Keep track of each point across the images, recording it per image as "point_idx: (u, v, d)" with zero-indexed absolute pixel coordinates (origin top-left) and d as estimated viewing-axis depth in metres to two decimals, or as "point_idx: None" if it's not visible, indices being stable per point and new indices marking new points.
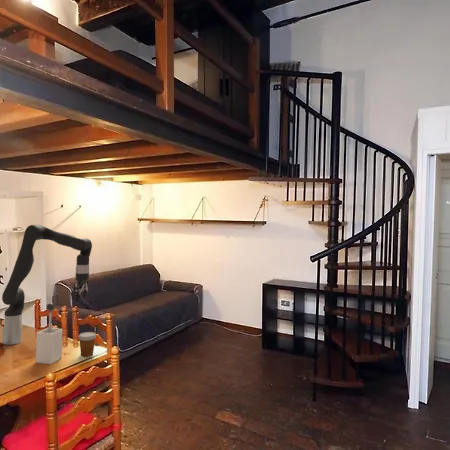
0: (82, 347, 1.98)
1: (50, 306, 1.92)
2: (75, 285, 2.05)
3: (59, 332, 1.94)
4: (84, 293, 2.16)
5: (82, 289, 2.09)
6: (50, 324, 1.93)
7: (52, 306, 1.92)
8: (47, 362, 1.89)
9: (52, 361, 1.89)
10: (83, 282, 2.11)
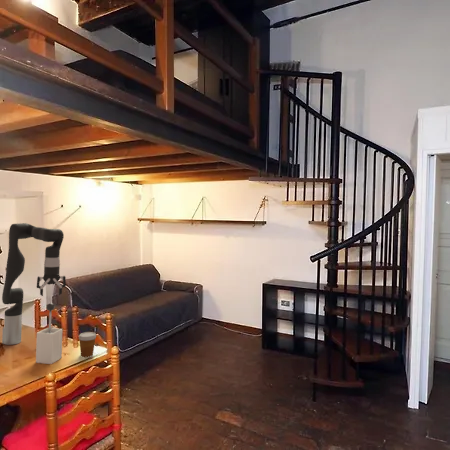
0: (82, 347, 1.98)
1: (50, 306, 1.92)
2: None
3: (59, 332, 1.94)
4: None
5: None
6: (50, 324, 1.93)
7: (52, 306, 1.92)
8: (47, 362, 1.89)
9: (52, 361, 1.89)
10: None
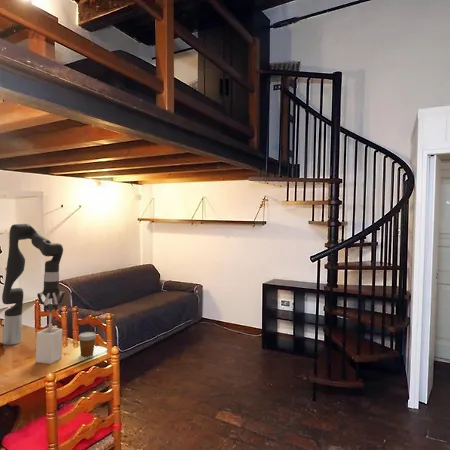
0: (82, 347, 1.98)
1: (50, 306, 1.92)
2: None
3: (59, 332, 1.94)
4: (46, 306, 1.92)
5: None
6: (50, 324, 1.93)
7: (52, 306, 1.92)
8: (47, 362, 1.89)
9: (52, 361, 1.89)
10: None
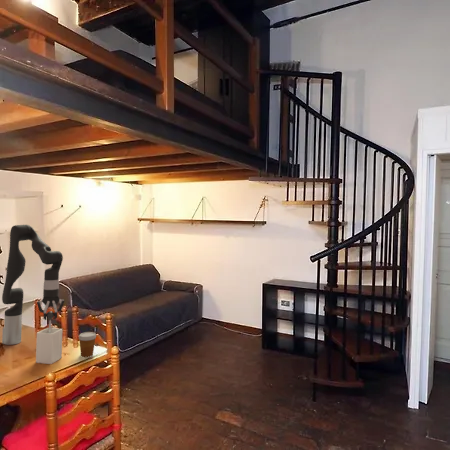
0: (82, 347, 1.98)
1: (50, 314, 1.92)
2: (63, 302, 1.96)
3: (59, 332, 1.94)
4: None
5: None
6: (50, 332, 1.93)
7: (52, 314, 1.92)
8: (47, 362, 1.89)
9: (52, 361, 1.89)
10: None
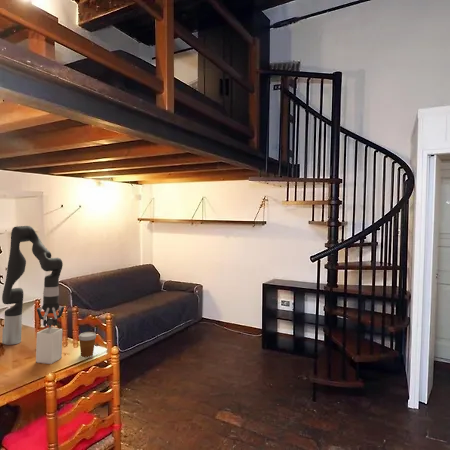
0: (82, 347, 1.98)
1: (50, 321, 1.92)
2: (63, 309, 1.96)
3: (59, 332, 1.94)
4: None
5: None
6: None
7: (52, 321, 1.92)
8: (47, 362, 1.89)
9: (52, 361, 1.89)
10: None
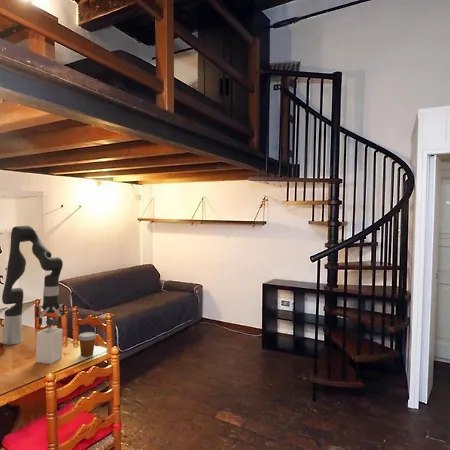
0: (82, 347, 1.98)
1: (50, 321, 1.92)
2: (64, 305, 1.96)
3: (59, 332, 1.94)
4: None
5: None
6: None
7: (52, 321, 1.92)
8: (47, 362, 1.89)
9: (52, 361, 1.89)
10: None
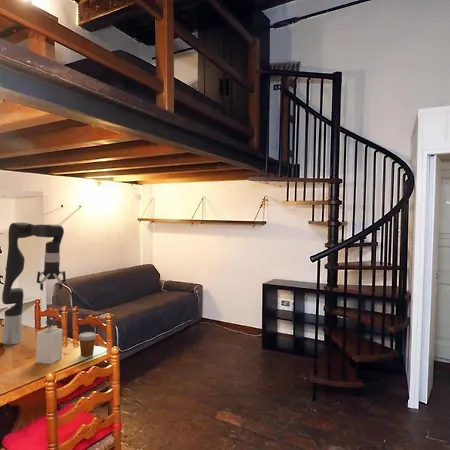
0: (82, 347, 1.98)
1: (50, 321, 1.92)
2: None
3: (59, 332, 1.94)
4: None
5: None
6: None
7: (52, 321, 1.92)
8: (47, 362, 1.89)
9: (52, 361, 1.89)
10: None
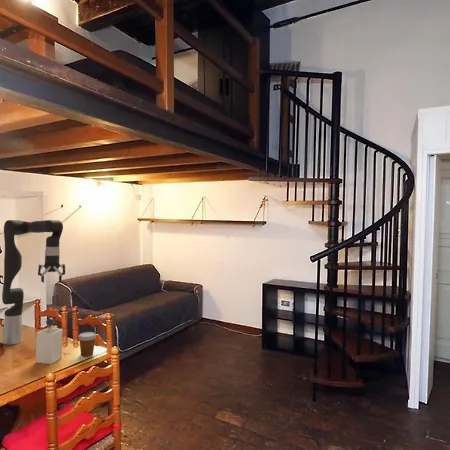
0: (82, 347, 1.98)
1: (50, 321, 1.92)
2: (64, 266, 2.09)
3: (59, 332, 1.94)
4: None
5: None
6: None
7: (52, 321, 1.92)
8: (47, 362, 1.89)
9: (52, 361, 1.89)
10: None
